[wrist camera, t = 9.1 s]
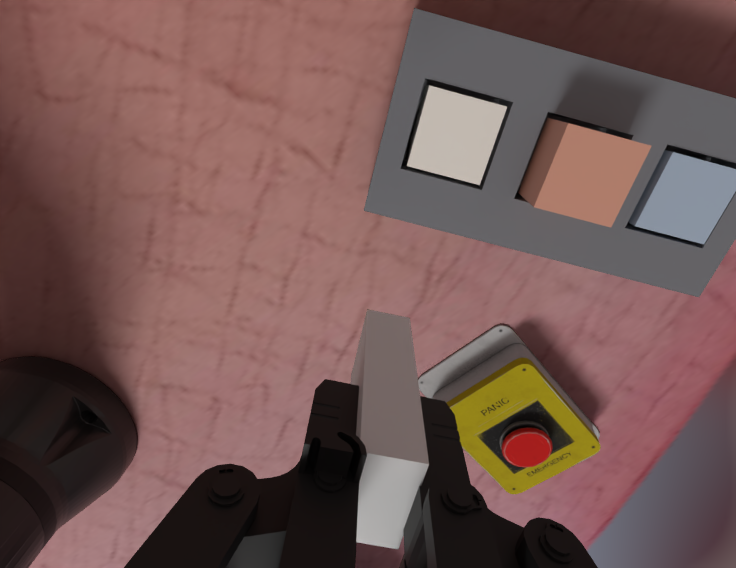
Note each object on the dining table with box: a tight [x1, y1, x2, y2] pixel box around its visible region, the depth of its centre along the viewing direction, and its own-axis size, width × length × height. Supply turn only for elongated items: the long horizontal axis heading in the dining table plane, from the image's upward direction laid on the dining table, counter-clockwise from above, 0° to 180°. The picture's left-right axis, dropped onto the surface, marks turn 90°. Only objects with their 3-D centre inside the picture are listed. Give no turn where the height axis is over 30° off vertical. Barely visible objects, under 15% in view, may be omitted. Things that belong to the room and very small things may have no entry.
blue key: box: [628, 150, 736, 244], centre depth 28 cm, size 4×4×4 cm
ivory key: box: [406, 85, 507, 185], centre depth 27 cm, size 4×4×4 cm
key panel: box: [364, 8, 736, 297], centre depth 28 cm, size 22×11×4 cm, turn 76°
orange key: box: [518, 118, 651, 227], centre depth 25 cm, size 4×4×4 cm
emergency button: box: [418, 325, 601, 494], centre depth 37 cm, size 9×4×15 cm
